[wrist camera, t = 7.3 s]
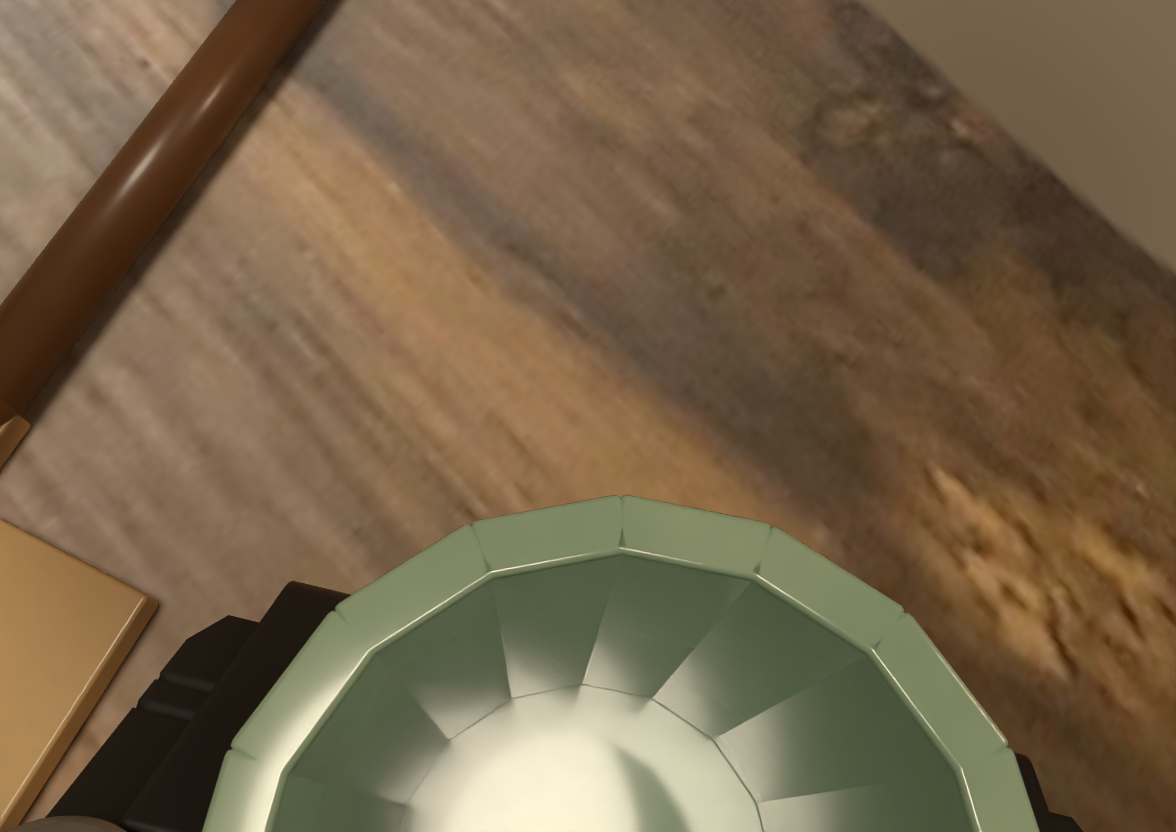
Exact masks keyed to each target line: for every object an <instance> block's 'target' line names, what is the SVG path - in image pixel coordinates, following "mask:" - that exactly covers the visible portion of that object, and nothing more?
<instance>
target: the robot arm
mask: <svg viewBox="0 0 1176 832" xmlns="http://www.w3.org/2000/svg"><path fill="white" fill-rule="evenodd" d="M349 596H351V595H350V594H346V593H342V592H338V591H334V590H330V589H325V588H321V587H317V586H313V585H309V584H305V583H300V582H296V581H291V582H289V583H288V584H287V585H286V586H285V587H284V589H283V590H282V591H281V593H280V594H279V596H278V597H277V599H276V600H275V601H274V603H273V604H272V606H271V607H270V608H269V610H268V611H267V613H266V614H265V616H264V617H263V618H262V620H261V621H260V623H259V622H255V621H251V620H246V619H242V618H238V617H234V616H230V615H228V616H226V617H225V618H223V619H221V620H219V621H218V622H216V623H214V624H212V625H211V626H209V627H207V628H206V629H204V630H202V631H200V632H199V633H197V634H195V635H193V636H192V637H190V638H188V639H187V640H186V641H185V642H184V643H183V645H182V646H181V647H180V648H179V650H178V651H177V652H176V653H175V655H174V656H173V657H172V659H171V660H170V661H169V662H168V664H167V665H166V666H165V667H164V669H163V670H162V671H161V672H160V677H159V679H158V680H156V679H155V680H154V681H153V683H152V684H151V685H150V686H149V688H148V689H147V690H146V691H145V693H144V694H143V695H142V696H141V698H140V699H139V700H138V704H137V707H136V708H132V709H131V710H130V712H129V713H128V714H127V715H126V717H125V718H124V719H123V720H122V722H121V723H120V724H119V725H118V727H117V728H116V729H115V731H114V732H113V733H112V734H111V736H110V737H109V738H108V739H107V741H106V742H105V743H104V744H103V746H102V747H101V748H100V749H99V751H98V752H97V753H96V755H95V756H94V757H93V758H92V760H91V761H90V762H89V763H88V765H87V766H86V767H85V768H84V770H83V771H82V772H81V773H80V775H79V776H78V777H77V779H76V780H75V781H74V782H73V784H72V785H71V786H70V787H69V789H68V790H67V791H66V792H65V794H64V795H63V796H62V797H61V799H60V800H59V801H58V803H57V804H56V805H55V806H54V808H53V809H52V810H51V811H50V813H49V814H48V815H47V816H46V817H45V818H43V819H39V820H35V821H32V822H28V823H25V824H22V825H20V826H17V827H15V828H12V829H10V830H8V831H6V832H201V831H202V828H203V825H204V821H205V818H206V815H207V811H208V808H209V805H210V801H211V798H212V795H213V791H214V788H215V785H216V781H217V778H218V775H219V771H220V768H221V765H222V761H223V758H224V755H225V754H226V752H227V751H228V750H230V749H232V748H231V742H232V739H233V738H234V737H235V735H236V734H237V733H238V731H239V730H240V729H241V727H242V726H243V725H244V723H245V722H246V721H247V719H248V718H249V717H250V715H251V714H252V713H253V711H254V710H255V709H256V707H257V706H258V705H259V703H260V702H261V701H262V700H263V698H264V697H265V696H266V694H267V693H268V692H269V690H270V689H271V688H272V686H273V685H274V684H275V682H276V681H277V680H278V678H279V677H280V676H281V674H282V673H283V672H284V670H285V669H286V668H287V666H288V665H289V664H290V662H291V661H292V660H293V659H294V657H295V656H296V655H297V653H298V652H299V651H300V649H301V648H302V647H303V645H304V644H305V643H306V641H307V640H308V639H309V637H310V636H311V635H312V633H313V632H314V631H315V629H316V628H317V627H318V625H319V624H320V623H321V621H322V620H323V619H324V617H325V616H326V615H327V614H328V613H330V612H331V611H335V607H336V606H337V604H338V603H339V602H341V601H343V600H344V599H346V598H347V597H349ZM1014 754H1015V757H1016V761H1017V764H1018V767H1019V770H1020V773H1021V776H1022V779H1023V782H1024V785H1025V788H1026V791H1027V794H1028V798H1029V801H1030V804H1031V807H1032V810H1033V813H1034V816H1035V819H1036V822H1037V825H1038V828H1039V831H1040V832H1083V831H1082V829H1081V828H1080V827H1079V826H1078V825H1077V823H1076V822H1075V821H1074V820H1073V818H1072V817H1068V816H1064V815H1059V814H1055V813H1051V812H1049V810H1048V807H1047V805H1046V802H1045V799H1044V796H1043V793H1042V791H1041V788H1040V785H1039V782H1038V779H1037V776H1036V774H1035V771H1034V768H1033V766H1032V763H1031V761H1030V760H1029V758H1028V757H1027V756H1025V755H1023V754H1019V753H1015V752H1014Z"/></svg>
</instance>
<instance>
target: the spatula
mask: <svg viewBox="0 0 1176 832" xmlns="http://www.w3.org/2000/svg"><path fill="white" fill-rule="evenodd" d="M326 1H327V0H236V1H235V3H234V4H233V5H232V6H231V8H230V9H229V10H228V12H227V13H226V14H225V15H224V17H223V18H222V19H221V21H220V22H219V23H218V25H217V26H216V27H215V28H214V30H213V31H212V32H211V34H210V35H209V36H208V37H207V39H206V40H205V41H204V43H203V44H202V45H201V47H200V48H199V49H198V50H197V52H196V53H195V54H194V56H193V57H192V58H191V59H190V61H189V62H188V63H187V65H186V66H185V67H184V69H183V70H182V71H181V72H180V74H179V75H178V76H177V78H176V79H175V80H174V81H173V83H172V84H171V85H170V87H169V88H168V89H167V91H166V92H165V93H164V94H163V96H162V97H161V98H160V100H159V101H158V102H157V103H156V105H155V106H154V107H153V109H152V110H151V111H150V113H149V114H148V115H147V116H146V118H145V119H144V120H143V122H142V123H141V124H140V125H139V127H138V128H137V129H136V131H135V132H134V133H133V135H132V136H131V137H130V138H129V140H128V141H127V142H126V144H125V145H124V146H123V147H122V149H121V150H120V151H119V153H118V154H117V155H116V157H115V158H114V159H113V160H112V162H111V163H110V164H109V166H108V167H107V168H106V169H105V171H104V172H103V173H102V175H101V176H100V177H99V179H98V180H97V181H96V182H95V184H94V185H93V186H92V188H91V189H90V190H89V191H88V193H87V194H86V195H85V197H84V198H83V199H82V201H81V202H80V203H79V204H78V206H77V207H76V208H75V210H74V211H73V212H72V213H71V215H70V216H69V217H68V219H67V220H66V221H65V223H64V224H63V225H62V226H61V228H60V229H59V230H58V232H57V233H56V234H55V235H54V237H53V238H52V239H51V241H50V242H49V243H48V245H47V246H46V247H45V248H44V250H43V251H42V252H41V254H40V255H39V256H38V257H37V259H36V260H35V261H34V263H33V264H32V265H31V267H30V268H29V269H28V270H27V272H26V273H25V274H24V276H23V277H22V278H21V279H20V281H19V282H18V283H17V285H16V286H15V287H14V289H13V290H12V291H11V292H10V294H9V295H8V296H7V298H6V299H5V300H4V301H3V303H2V304H1V305H0V468H1V467H2V465H3V464H4V463H5V461H6V460H7V459H8V457H9V456H10V454H11V453H12V452H13V450H14V449H15V448H16V446H17V445H18V443H19V442H20V441H21V439H22V438H23V437H24V435H25V434H26V432H27V431H28V430H29V428H30V426H31V425H30V424H29V422H27V421H26V420H25V419H24V418H22V417H21V416H22V415H23V414H24V412H25V411H26V410H27V408H28V407H29V405H30V404H31V403H32V401H33V400H34V399H35V397H36V396H37V395H38V393H39V392H40V390H41V389H42V388H43V386H44V385H45V384H46V382H47V381H48V380H49V378H50V377H51V375H52V374H53V373H54V371H55V370H56V369H57V367H58V366H59V365H60V363H61V362H62V360H63V359H64V358H65V356H66V355H67V354H68V352H69V351H70V350H71V348H72V347H73V345H74V344H75V343H76V341H77V340H78V339H79V337H80V336H81V335H82V333H83V332H84V330H85V329H86V328H87V326H88V325H89V324H90V322H91V321H92V320H93V318H94V317H95V315H96V314H97V313H98V311H99V310H100V309H101V307H102V306H103V305H104V303H105V302H106V300H107V299H108V298H109V296H110V295H111V294H112V292H113V291H114V290H115V288H116V287H117V285H118V284H119V283H120V281H121V280H122V279H123V277H124V276H125V275H126V273H127V272H128V270H129V269H130V268H131V266H132V265H133V264H134V262H135V261H136V260H137V258H138V257H139V255H140V254H141V253H142V251H143V250H144V249H145V247H146V246H147V245H148V243H149V242H150V240H151V239H152V238H153V236H154V235H155V234H156V232H157V231H158V230H159V228H160V227H161V225H162V224H163V223H164V221H165V220H166V219H167V217H168V216H169V215H170V213H171V212H172V210H173V209H174V208H175V206H176V205H177V204H178V202H179V201H180V200H181V198H182V197H183V195H184V194H185V193H186V191H187V190H188V189H189V187H190V186H191V185H192V183H193V182H194V180H195V179H196V178H197V176H198V175H199V174H200V172H201V171H202V170H203V168H204V167H205V165H206V164H207V163H208V161H209V160H210V159H211V157H212V156H213V155H214V153H215V152H216V150H217V149H218V148H219V146H220V145H221V144H222V142H223V141H224V140H225V138H226V137H227V135H228V134H229V133H230V131H231V130H232V129H233V127H234V126H235V125H236V123H237V122H238V120H239V119H240V118H241V116H242V115H243V114H244V112H245V111H246V110H247V108H248V107H249V105H250V104H251V103H252V101H253V100H254V99H255V97H256V96H257V95H258V93H259V92H260V90H261V89H262V88H263V86H264V85H265V84H266V82H267V81H268V80H269V78H270V77H271V76H272V74H273V73H274V71H275V70H276V69H277V67H278V66H279V65H280V63H281V62H282V61H283V59H284V58H285V56H286V55H287V54H288V52H289V51H290V50H291V48H292V47H293V46H294V44H295V43H296V41H297V40H298V39H299V37H300V36H301V35H302V33H303V32H304V31H305V29H306V28H307V26H308V25H309V24H310V22H311V21H312V20H313V18H314V17H315V16H316V14H317V13H318V11H319V10H320V9H321V7H322V6H323V5H324V3H325V2H326ZM157 607H158V603H157V601H156V600H154V599H153V598H151V597H149V596H148V595H146V594H144V593H142V592H141V591H139V590H137V589H135V588H133V587H131V586H129V585H127V584H125V583H123V582H121V581H119V580H117V579H116V578H114V577H112V576H110V575H108V574H106V573H104V572H102V571H100V570H98V569H96V568H94V567H92V566H91V565H89V564H87V563H85V562H83V561H81V560H79V559H77V558H75V557H73V556H71V555H69V554H68V553H66V552H64V551H62V550H60V549H58V548H56V547H54V546H52V545H50V544H48V543H46V542H44V541H43V540H41V539H39V538H37V537H35V536H33V535H31V534H29V533H27V532H25V531H23V530H21V529H19V528H18V527H16V526H14V525H12V524H10V523H8V522H6V521H4V520H2V519H0V832H6V831H8V830H10V829H12V828H15V827H17V826H18V825H19V823H20V822H21V820H22V819H23V817H24V815H25V814H26V812H27V811H28V809H29V808H30V806H31V804H32V803H33V801H34V800H35V798H36V797H37V795H38V793H39V792H40V790H41V789H42V787H43V786H44V784H45V783H46V781H47V779H48V778H49V776H50V775H51V773H52V772H53V770H54V768H55V767H56V765H57V764H58V762H59V761H60V759H61V757H62V756H63V754H64V753H65V751H66V750H67V748H68V747H69V745H70V743H71V742H72V740H73V739H74V737H75V736H76V734H77V732H78V731H79V729H80V728H81V726H82V725H83V723H84V721H85V720H86V718H87V717H88V715H89V714H90V712H91V710H92V709H93V707H94V706H95V704H96V703H97V701H98V700H99V698H100V696H101V695H102V693H103V692H104V690H105V689H106V687H107V685H108V684H109V682H110V681H111V679H112V678H113V676H114V674H115V673H116V671H117V670H118V668H119V667H120V665H121V664H122V662H123V660H124V659H125V657H126V656H127V654H128V653H129V651H130V649H131V648H132V646H133V645H134V643H135V642H136V640H137V638H138V637H139V635H140V634H141V632H142V631H143V629H144V628H145V626H146V624H147V623H148V621H149V620H150V618H151V617H152V615H153V613H154V612H155V610H156V609H157Z"/></svg>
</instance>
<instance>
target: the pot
mask: <svg viewBox="0 0 1176 832" xmlns="http://www.w3.org/2000/svg"><path fill="white" fill-rule="evenodd" d="M1007 745H1008V741H1007V739H1006V737H1005V736H1004V735H1003V733H1002V732H1001V731H1000V729H999V728H998V727H997V726H996V724H995V723H994V722H993V720H992V719H991V718H990V716H989V715H988V714H987V713H986V711H985V710H984V709H983V707H982V706H981V705H980V703H979V702H978V701H977V700H976V698H975V697H974V696H973V694H972V693H971V692H970V690H969V689H968V688H967V687H966V685H965V684H964V683H963V681H962V680H961V679H960V677H959V676H958V675H957V674H956V672H955V671H954V670H953V668H952V667H951V666H950V664H949V663H948V662H947V661H946V659H945V658H944V657H943V655H942V654H941V653H940V651H939V650H938V649H937V647H936V646H935V645H934V644H933V642H932V641H931V640H930V638H929V637H928V636H927V634H926V633H925V632H924V631H923V629H922V628H921V627H920V625H919V624H918V623H917V621H916V620H915V619H914V618H913V616H912V615H910V614H909V613H907V612H906V613H904V609H903V607H902V606H901V605H900V604H898V603H897V602H895V601H893V600H892V599H890V598H889V597H887V596H885V595H884V594H882V593H881V592H879V591H878V590H876V589H874V588H873V587H871V586H870V585H868V584H866V583H865V582H863V581H862V580H860V579H859V578H857V577H855V576H854V575H852V574H851V573H849V572H848V571H846V570H844V569H843V568H841V567H840V566H838V565H836V564H835V563H833V562H832V561H830V560H829V559H827V558H825V557H824V556H822V555H821V554H819V553H817V552H816V551H814V550H813V549H811V548H810V547H808V546H806V545H805V544H803V543H802V542H800V541H798V540H797V539H795V538H794V537H792V536H791V535H789V534H787V533H786V532H784V531H783V530H781V529H779V528H777V527H770V524H768V523H766V522H762V521H757V520H752V519H747V518H742V517H737V516H732V515H727V514H722V513H717V512H712V511H707V510H702V509H697V508H692V507H687V506H682V505H677V504H672V503H667V502H662V501H657V500H652V499H646V498H641V497H636V496H631V495H624V496H622V497H620V496H617V495H611V496H605V497H600V498H595V499H589V500H584V501H578V502H573V503H567V504H562V505H557V506H551V507H546V508H540V509H535V510H529V511H524V512H518V513H513V514H508V515H502V516H497V517H491V518H486V519H480V520H476V521H475V522H473V523H472V525H469V524H466V525H463V526H461V527H460V528H458V529H456V530H455V531H453V532H452V533H450V534H448V535H447V536H445V537H444V538H442V539H440V540H439V541H437V542H435V543H434V544H432V545H431V546H429V547H427V548H426V549H424V550H423V551H421V552H419V553H418V554H416V555H415V556H413V557H411V558H410V559H408V560H407V561H405V562H403V563H402V564H400V565H399V566H397V567H395V568H394V569H392V570H391V571H389V572H387V573H386V574H384V575H383V576H381V577H379V578H378V579H376V580H375V581H373V582H371V583H370V584H368V585H367V586H365V587H363V588H362V589H360V590H359V591H357V592H355V593H354V594H352V595H351V596H349V597H347V598H346V599H344V600H343V601H341V602H339V603H338V604H337V606H336V607H335V611H331V612H330V613H328V614H327V615H326V616H325V617H324V619H323V620H322V621H321V623H320V624H319V625H318V627H317V628H316V629H315V631H314V632H313V633H312V635H311V636H310V637H309V639H308V640H307V641H306V643H305V644H304V645H303V647H302V648H301V649H300V651H299V652H298V653H297V655H296V656H295V657H294V659H293V660H292V661H291V662H290V664H289V665H288V666H287V668H286V669H285V670H284V672H283V673H282V674H281V676H280V677H279V678H278V680H277V681H276V682H275V684H274V685H273V686H272V688H271V689H270V690H269V692H268V693H267V694H266V696H265V697H264V698H263V700H262V701H261V702H260V703H259V705H258V706H257V707H256V709H255V710H254V711H253V713H252V714H251V715H250V717H249V718H248V719H247V721H246V722H245V723H244V725H243V726H242V727H241V729H240V730H239V731H238V733H237V734H236V735H235V737H234V738H233V739H232V742H231V748H232V749H230V750H228V751H227V752H226V754H225V755H224V758H223V761H222V765H221V768H220V771H219V775H218V778H217V781H216V785H215V788H214V791H213V795H212V798H211V801H210V805H209V808H208V811H207V815H206V818H205V821H204V825H203V828H202V831H201V832H1040V831H1039V828H1038V825H1037V822H1036V819H1035V816H1034V813H1033V810H1032V807H1031V804H1030V801H1029V798H1028V794H1027V791H1026V788H1025V785H1024V782H1023V779H1022V776H1021V773H1020V770H1019V767H1018V764H1017V761H1016V757H1015V754H1014V752H1013V751H1012V749H1011V748H1008V747H1007Z"/></svg>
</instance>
